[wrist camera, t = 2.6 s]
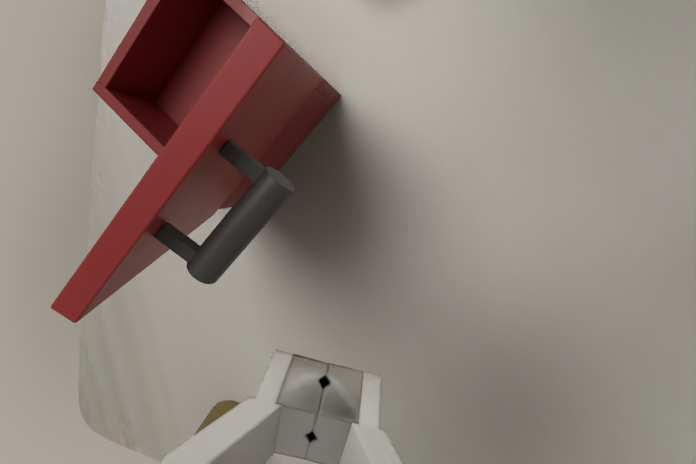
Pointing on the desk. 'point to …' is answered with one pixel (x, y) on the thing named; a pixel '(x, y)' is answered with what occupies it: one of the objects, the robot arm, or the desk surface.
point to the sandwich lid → (204, 175)
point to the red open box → (190, 74)
